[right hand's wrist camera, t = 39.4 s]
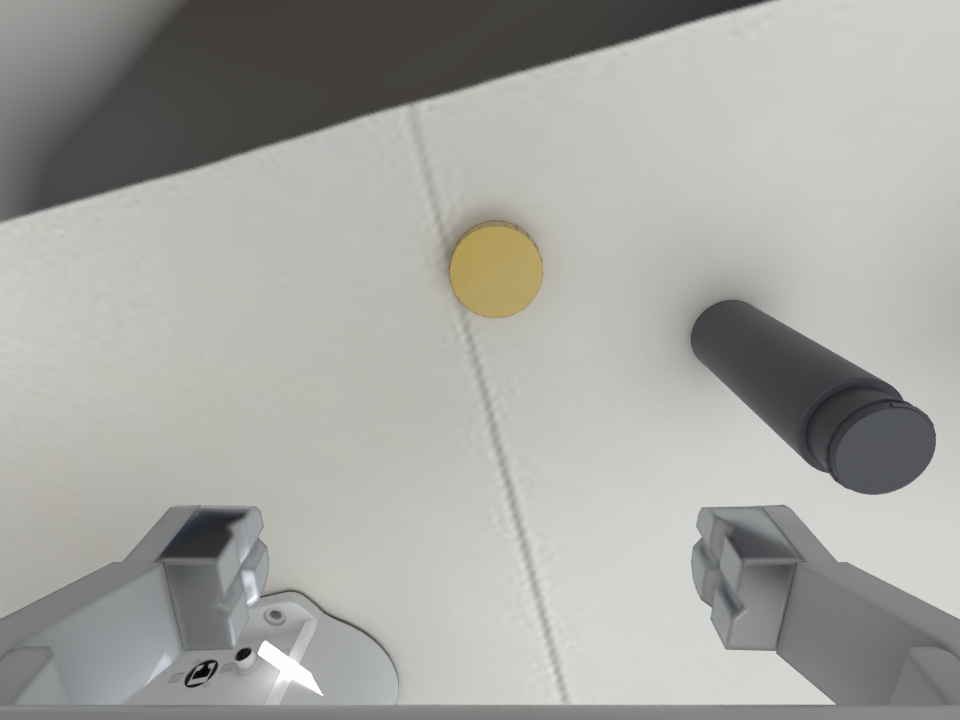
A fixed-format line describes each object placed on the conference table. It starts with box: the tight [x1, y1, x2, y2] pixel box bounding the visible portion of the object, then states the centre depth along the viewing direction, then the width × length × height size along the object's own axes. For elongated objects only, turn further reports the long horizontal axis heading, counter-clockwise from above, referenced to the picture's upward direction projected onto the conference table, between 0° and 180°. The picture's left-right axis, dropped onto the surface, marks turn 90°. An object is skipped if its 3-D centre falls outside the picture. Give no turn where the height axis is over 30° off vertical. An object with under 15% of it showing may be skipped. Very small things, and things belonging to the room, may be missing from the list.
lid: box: [449, 220, 543, 318], centre depth 34 cm, size 6×6×2 cm
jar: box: [691, 300, 936, 495], centre depth 30 cm, size 5×5×15 cm
